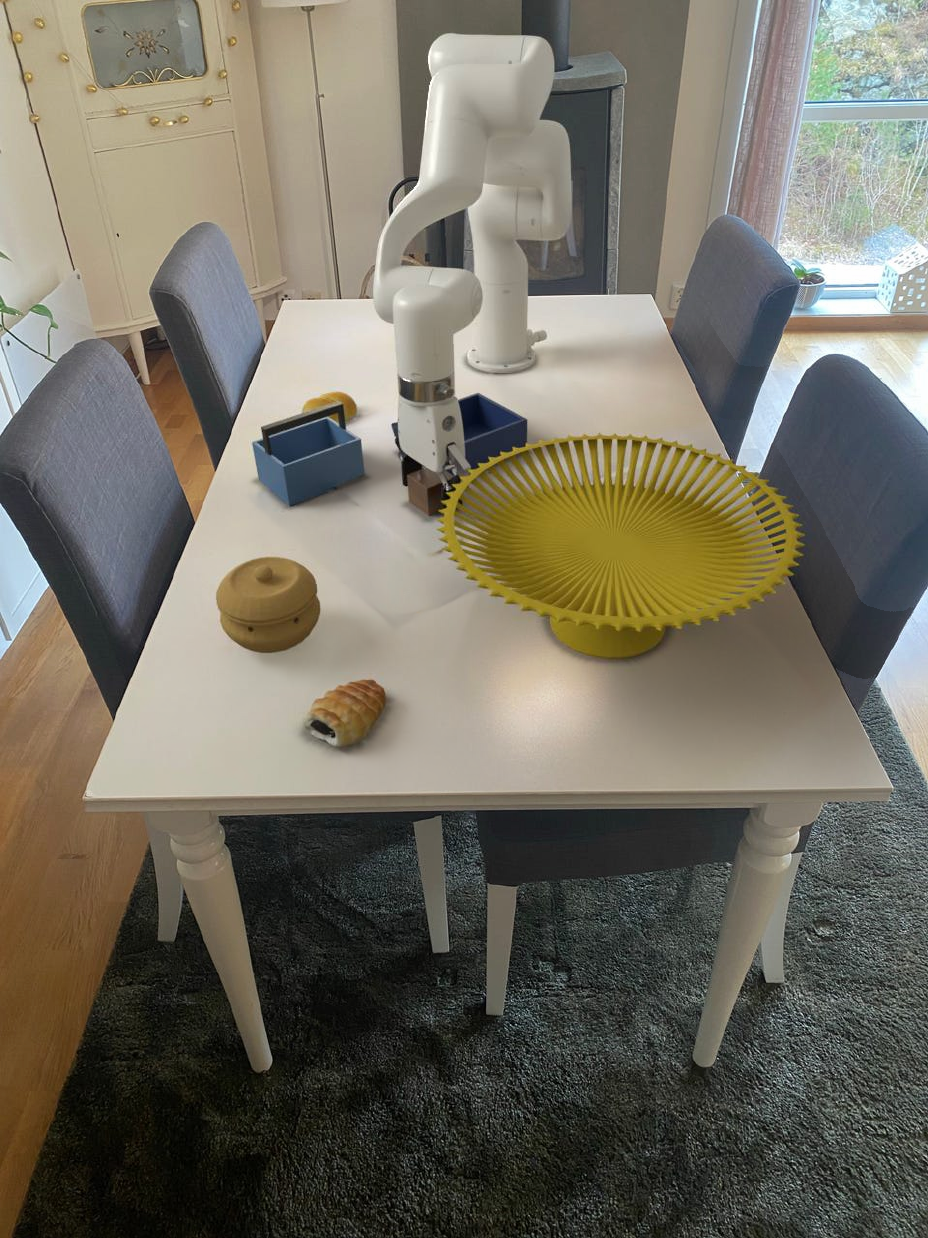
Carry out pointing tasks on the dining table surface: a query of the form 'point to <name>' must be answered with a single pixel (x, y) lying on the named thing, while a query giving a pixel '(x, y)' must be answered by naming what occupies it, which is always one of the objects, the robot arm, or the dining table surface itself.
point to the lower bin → (489, 429)
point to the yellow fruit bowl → (618, 543)
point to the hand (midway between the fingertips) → (432, 496)
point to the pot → (268, 604)
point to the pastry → (346, 712)
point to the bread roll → (333, 397)
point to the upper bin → (308, 454)
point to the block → (426, 490)
